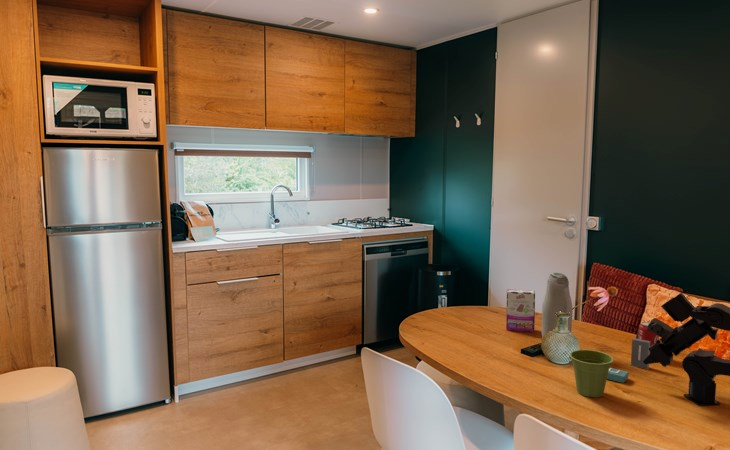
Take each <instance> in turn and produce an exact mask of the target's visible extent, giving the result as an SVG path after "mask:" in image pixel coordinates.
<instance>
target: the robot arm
mask: <svg viewBox="0 0 730 450" xmlns="http://www.w3.org/2000/svg"><path fill="white" fill-rule="evenodd" d="M660 308H662V310H663V311H665V313H666V314H667V315H668V316H669V317H670V318H671V319H672V320H673V322H677V323H678V322H680V323H683V322H685V321H686V320H687V319H688V320H687V321H686V322H685V323H683V324H681V325H680V326H675V327H674V328H673V327H672V326H670V325H669V324H667V323H666V322H664V321H662V320H660V319H658V318H657V317H653V318H652V319H651V320H650V321H649V322H650V323H649V325H648V327H647V328H646V329H647V330H648V331H649V332H652V333H654V334H656V335H657V336H659V340H657V341H656V343H654V344H653V345H652V346H651V347H650V348H649V351H650V352H651V353H650V354H649V355H648V356H647V358H646V359H645V360H644V361H643V362H644V364H649V365H652V364H660V365H661V366H662V367H664V368H666V367H667V366H669V365H671V364H672V363H673V361H674V356H675V357H677V356H678V355H680V353H682V352H683V351H685V350H687V349H690V348H691V347H693V345H694V344H696V343H697V342H700V340H702V339H703V338H705V337H707V336H709V338H711V339H712V341H715V340H716V339H717V338H718V336H719V335H718V332H719V330H722V331H727V332H730V307H729V306H728V305H726V304H724V303H720V302H717V303H714V304H711V305H709V306H708V305H696V306H694V305H693V303H691V302H690V301H689V299H687V297H686V296H685V294H684V293H682V292H680V293H679V294H677V295H676V296H673V297H671V298H670V299H668V300H667V301H666V302H664V303H663V304H662V305H661V306H660ZM689 318H690V319H689ZM715 354H716V351H715V350H712V349H711V350H708V349H707V350H705V349H703V348H702V349H701V348H700V347H699V348H698V349H697V350H692V351H690V352H689V353H687V354H686V356H685V357H684V358H683V359H682V361H681V362H682V363H681V366H682V369H683V370H684V373H685V372H686V375H687V376H688V379H689V380H688V393H684V394H683V396H684V397H685V398H687V399H688V400H690V401H691V402H693V403H695V404H696V405H698V406H716V405H717V406H718V405H721V402H720V401H718V400H716V395H717V394H716V393H717V392H716V391H717V383H716V381H715V378H716V377H717V376H728V377H730V359H725V358H722V357H719V356H717V355H715Z"/></svg>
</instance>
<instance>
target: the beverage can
mask: <svg viewBox="0 0 730 450" xmlns="http://www.w3.org/2000/svg"><path fill="white" fill-rule="evenodd" d="M650 322H651V321H642V322H641V323H640V324H641V325H640V324H639V325H640V326H639V325H638V330H639V339H641V340H646V341H650V347H651V346H652V345H653V344H654V343H656V341H657V340H660V337H659V336H657V335H656V334H654V333H652V332H649V331H648V330H647V329H646V328H647V327H648V325H649V323H650ZM650 353H651V352H650Z"/></svg>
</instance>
